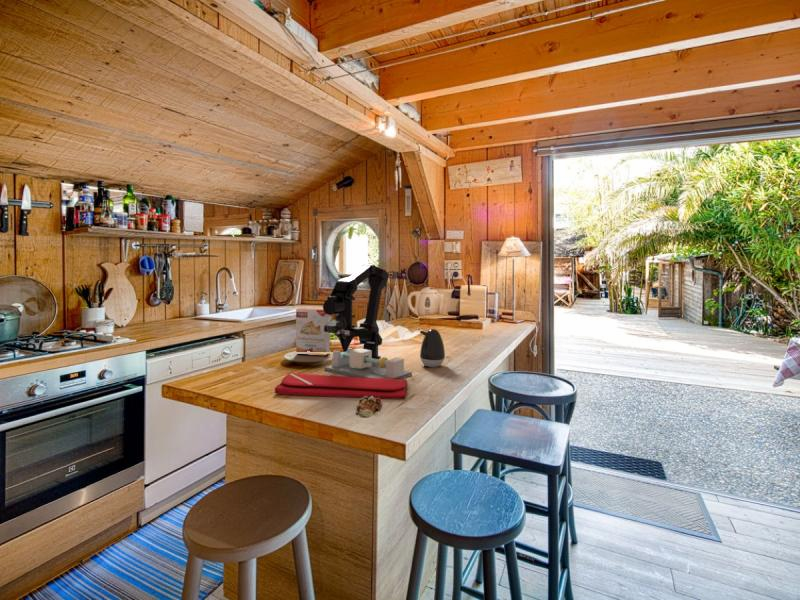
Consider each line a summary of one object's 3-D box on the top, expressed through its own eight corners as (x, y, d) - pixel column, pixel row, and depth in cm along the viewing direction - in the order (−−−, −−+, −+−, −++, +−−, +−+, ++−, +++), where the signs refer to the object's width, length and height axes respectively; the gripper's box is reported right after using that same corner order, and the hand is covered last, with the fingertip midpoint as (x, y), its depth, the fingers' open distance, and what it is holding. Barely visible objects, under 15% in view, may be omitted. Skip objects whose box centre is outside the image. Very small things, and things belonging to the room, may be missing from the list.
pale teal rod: (342, 357, 168) (342, 348, 168) (398, 369, 151) (398, 358, 151) (335, 359, 165) (335, 349, 165) (391, 371, 148) (391, 360, 148)
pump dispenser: (420, 362, 176) (421, 326, 174) (445, 363, 174) (446, 327, 173) (418, 368, 166) (418, 330, 164) (444, 369, 164) (445, 331, 163)
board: (353, 362, 173) (353, 346, 173) (411, 375, 155) (411, 356, 155) (324, 370, 161) (324, 352, 160) (384, 384, 143) (384, 364, 142)
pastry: (354, 418, 112) (354, 405, 112) (359, 403, 124) (359, 391, 124) (379, 419, 112) (379, 406, 112) (382, 404, 124) (382, 392, 124)
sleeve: (360, 363, 164) (360, 348, 163) (371, 365, 160) (371, 350, 160) (349, 366, 159) (349, 350, 159) (361, 368, 156) (361, 352, 155)
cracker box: (295, 355, 185) (295, 308, 183) (301, 352, 191) (300, 307, 189) (325, 356, 183) (325, 309, 181) (330, 354, 189) (330, 308, 187)
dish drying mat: (405, 401, 127) (405, 389, 127) (274, 395, 130) (273, 384, 129) (407, 385, 143) (407, 375, 142) (290, 381, 145) (290, 370, 145)
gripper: (313, 312, 162) (313, 351, 164) (347, 316, 151) (347, 358, 153) (334, 309, 171) (334, 346, 173) (368, 313, 160) (367, 353, 161)
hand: (345, 351), depth 165 cm, fingers closed
